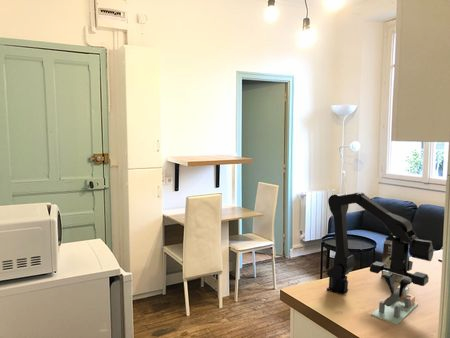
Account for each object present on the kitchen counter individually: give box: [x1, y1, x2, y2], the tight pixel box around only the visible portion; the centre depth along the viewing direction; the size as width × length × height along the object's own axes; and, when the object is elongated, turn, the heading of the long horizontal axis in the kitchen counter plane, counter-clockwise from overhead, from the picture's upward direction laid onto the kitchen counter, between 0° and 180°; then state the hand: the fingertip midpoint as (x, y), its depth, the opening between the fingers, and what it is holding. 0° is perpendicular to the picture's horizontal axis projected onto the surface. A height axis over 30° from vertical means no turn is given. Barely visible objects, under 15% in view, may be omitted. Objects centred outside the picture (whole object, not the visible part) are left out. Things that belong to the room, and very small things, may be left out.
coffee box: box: [380, 239, 403, 283], centre depth 164 cm, size 9×6×16 cm
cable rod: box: [383, 285, 410, 306], centre depth 134 cm, size 3×17×2 cm, turn 136°
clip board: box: [370, 293, 419, 325], centre depth 134 cm, size 9×21×4 cm, turn 136°
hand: (396, 295), depth 135 cm, fingers closed on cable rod, 2 cm apart
